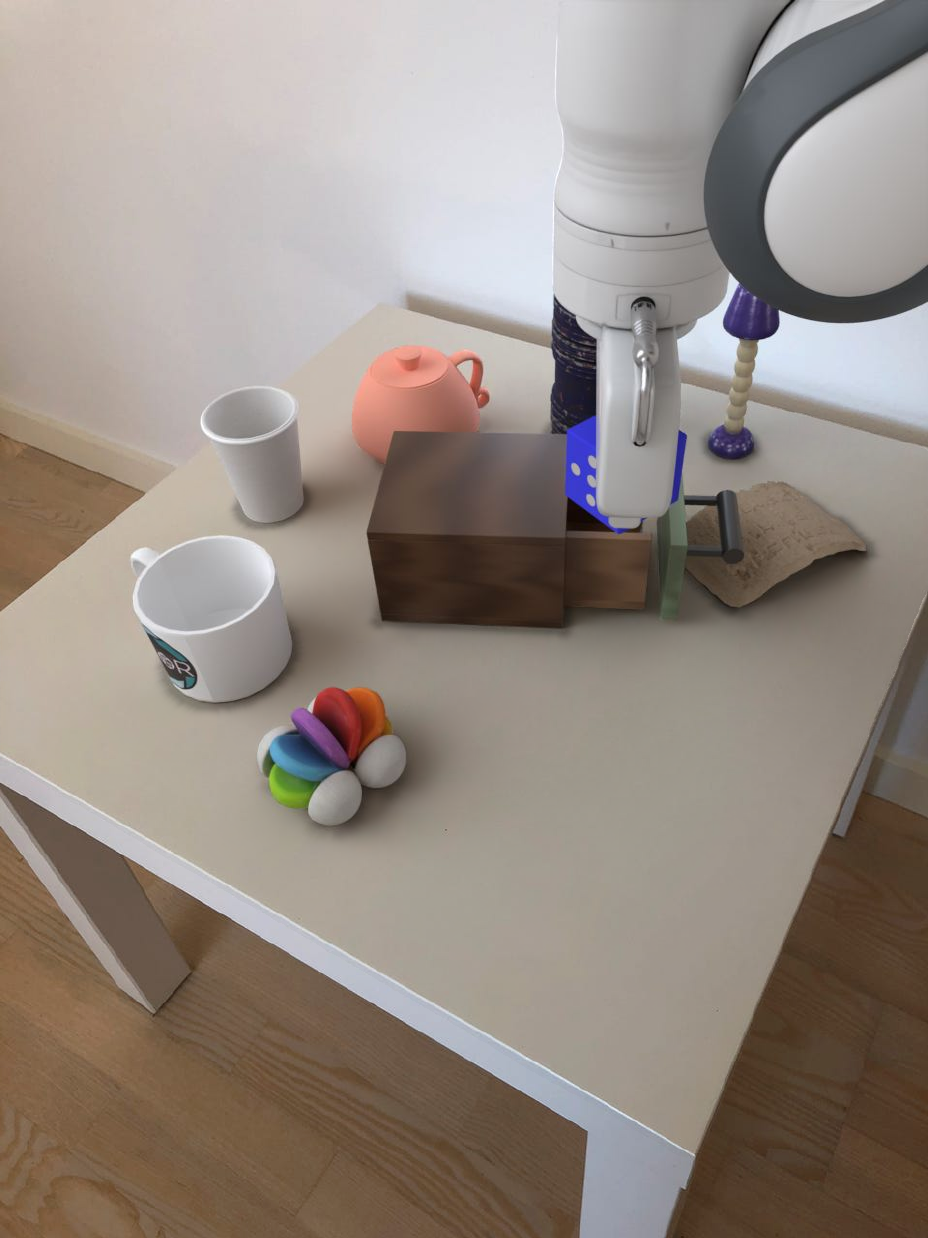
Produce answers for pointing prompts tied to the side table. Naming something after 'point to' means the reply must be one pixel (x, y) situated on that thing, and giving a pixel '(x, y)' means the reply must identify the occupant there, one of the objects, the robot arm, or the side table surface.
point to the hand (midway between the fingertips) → (622, 475)
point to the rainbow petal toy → (332, 754)
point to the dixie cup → (258, 449)
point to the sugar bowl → (416, 396)
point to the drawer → (640, 555)
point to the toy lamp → (742, 369)
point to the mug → (213, 616)
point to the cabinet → (471, 529)
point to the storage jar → (572, 371)
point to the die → (584, 468)
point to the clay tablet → (766, 541)
